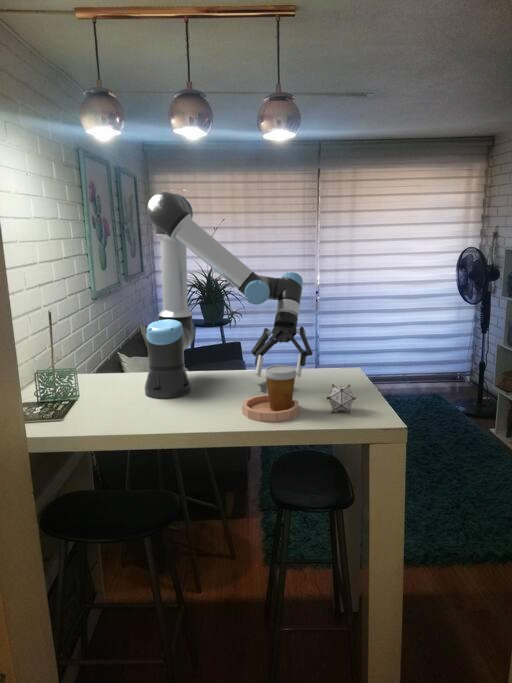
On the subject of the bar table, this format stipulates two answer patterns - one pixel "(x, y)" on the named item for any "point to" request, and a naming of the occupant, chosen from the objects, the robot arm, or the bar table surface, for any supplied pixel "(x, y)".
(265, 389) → the egg carton
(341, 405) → the game die
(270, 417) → the terracotta bowl
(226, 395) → the bar table surface
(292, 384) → the disposable coffee cup
